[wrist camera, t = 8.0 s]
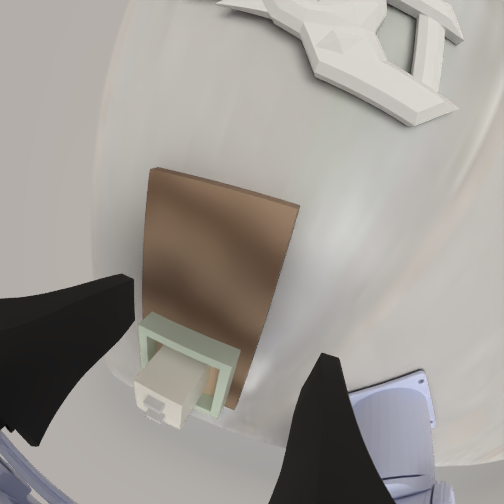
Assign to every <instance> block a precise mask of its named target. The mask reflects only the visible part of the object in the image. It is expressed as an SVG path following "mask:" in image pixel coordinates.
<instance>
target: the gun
mask: <svg viewBox="0 0 504 504" xmlns="http://www.w3.org/2000/svg"><path fill="white" fill-rule="evenodd" d="M387 3H388V4H390V5H392V6H394V7H396V8H398V9H400V10H402V11H403V12H405V13H407V14H409V15H411V16H412V17H414V18H416V19H417V24H416V35H415V45H414V54H413V61H412V69H411V74H409V73H407V72H406V71H404V70H402V69H401V68H399V67H397V66H396V65H394V64H392V63H390V62H388V61H387V58H386V56H385V54H384V51H383V49H382V47H381V45H380V42H379V40H378V38H377V36H376V32H377V31H378V29H379V27H380V26H381V24H382V23H383V21H384V19H385V17H386V15H387ZM215 4H216V5H217V6H222V7H227V8H231V9H236V10H240V11H244V12H248V13H252V14H255V15H259V16H262V17H266V18H269V19H272V21H273V22H274V24H275V25H277V26H279V27H281V28H282V29H284V30H286V31H287V32H289V33H291V34H292V35H294V36H296V37H297V38H299V39H300V40H301V41H302V43H303V46H304V48H305V51H306V53H307V56H308V59H309V61H310V64H311V67H312V70H313V73H314V75H315V77H316V78H318V79H321V80H323V81H325V82H328V83H330V84H332V85H334V86H336V87H338V88H340V89H342V90H345V91H347V92H349V93H351V94H353V95H355V96H357V97H358V98H360V99H362V100H364V101H366V102H368V103H370V104H372V105H373V106H375V107H377V108H379V109H380V110H382V111H384V112H386V113H387V114H389V115H391V116H392V117H394V118H396V119H397V120H399V121H401V122H402V123H404V124H405V125H407V126H408V127H412V126H416V125H419V124H421V123H424V122H426V121H429V120H431V119H434V118H436V117H439V116H441V115H444V114H447V113H449V112H452V111H454V110H457V109H459V108H458V107H457V106H455V105H454V104H453V103H451V102H450V101H449V100H447V99H446V98H445V97H443V96H442V95H441V94H439V93H438V89H439V82H440V76H441V68H442V60H443V51H444V39H445V37H446V38H447V39H449V40H450V41H452V42H453V43H455V44H456V45H458V44H460V43H461V42H463V41H464V39H463V36H462V33H461V30H460V27H459V24H458V21H457V19H456V16H455V13H454V11H453V8H452V6H451V5H449V4H448V3H446V2H445V1H443V0H222V1H219V2H217V3H215Z"/></svg>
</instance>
